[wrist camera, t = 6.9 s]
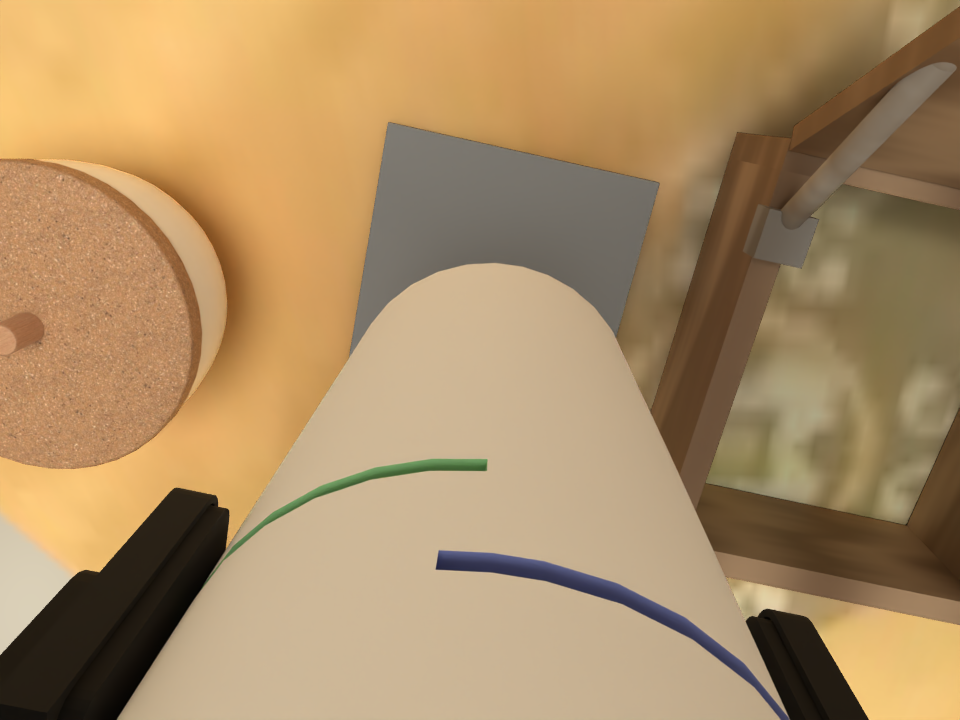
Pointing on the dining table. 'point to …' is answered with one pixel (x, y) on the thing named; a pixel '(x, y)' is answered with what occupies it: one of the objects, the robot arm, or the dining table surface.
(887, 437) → the dining table surface
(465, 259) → the mat
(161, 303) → the lidded jar
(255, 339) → the dining table surface
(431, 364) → the cylindrical container
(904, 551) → the case
